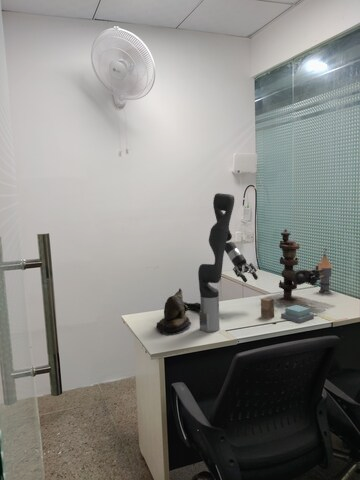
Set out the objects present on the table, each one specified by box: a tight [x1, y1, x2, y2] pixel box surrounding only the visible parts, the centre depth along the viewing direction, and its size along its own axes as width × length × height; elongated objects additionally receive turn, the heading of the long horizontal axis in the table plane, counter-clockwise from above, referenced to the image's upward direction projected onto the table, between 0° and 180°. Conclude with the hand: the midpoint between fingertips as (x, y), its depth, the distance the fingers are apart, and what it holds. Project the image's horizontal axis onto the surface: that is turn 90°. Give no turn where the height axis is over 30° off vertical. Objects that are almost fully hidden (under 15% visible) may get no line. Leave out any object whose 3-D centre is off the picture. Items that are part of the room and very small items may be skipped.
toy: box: [183, 301, 201, 313], centre depth 228 cm, size 8×6×30 cm
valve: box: [259, 228, 337, 314], centre depth 233 cm, size 42×20×45 cm, turn 36°
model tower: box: [314, 248, 334, 295], centre depth 253 cm, size 10×11×30 cm
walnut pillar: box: [260, 296, 275, 319], centre depth 209 cm, size 5×5×10 cm
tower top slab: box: [284, 305, 311, 317], centre depth 206 cm, size 9×9×3 cm
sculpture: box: [155, 288, 193, 336], centre depth 196 cm, size 23×18×20 cm
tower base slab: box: [280, 312, 315, 324], centre depth 206 cm, size 12×12×3 cm
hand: (251, 280), depth 217 cm, fingers open, 8 cm apart
